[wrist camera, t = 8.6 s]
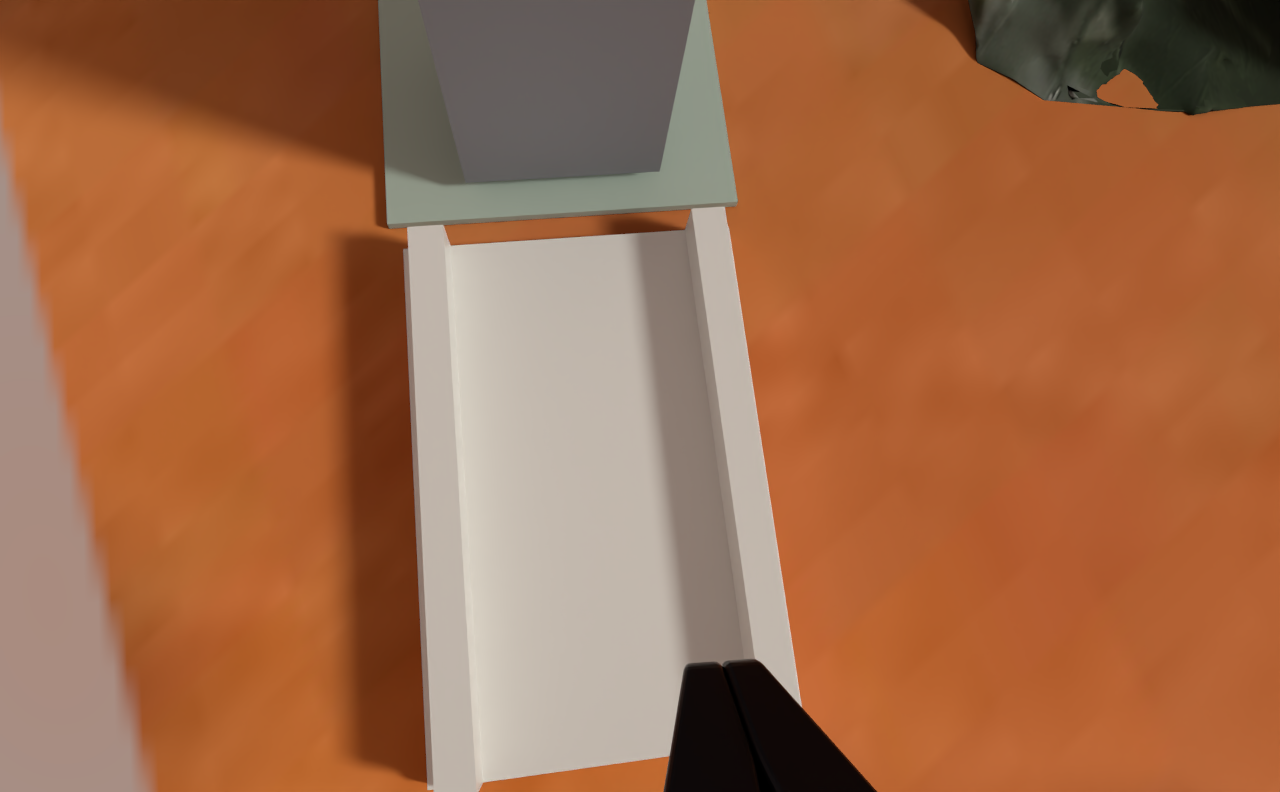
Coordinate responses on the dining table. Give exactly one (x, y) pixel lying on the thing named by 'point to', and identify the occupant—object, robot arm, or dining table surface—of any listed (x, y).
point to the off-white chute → (582, 494)
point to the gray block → (557, 83)
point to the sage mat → (438, 195)
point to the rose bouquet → (1136, 49)
